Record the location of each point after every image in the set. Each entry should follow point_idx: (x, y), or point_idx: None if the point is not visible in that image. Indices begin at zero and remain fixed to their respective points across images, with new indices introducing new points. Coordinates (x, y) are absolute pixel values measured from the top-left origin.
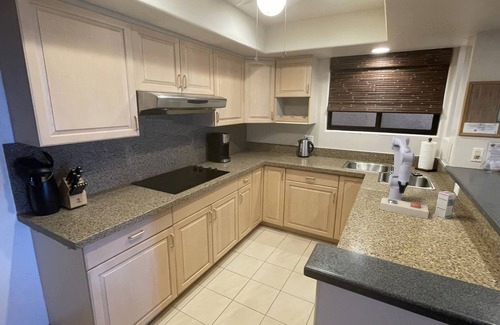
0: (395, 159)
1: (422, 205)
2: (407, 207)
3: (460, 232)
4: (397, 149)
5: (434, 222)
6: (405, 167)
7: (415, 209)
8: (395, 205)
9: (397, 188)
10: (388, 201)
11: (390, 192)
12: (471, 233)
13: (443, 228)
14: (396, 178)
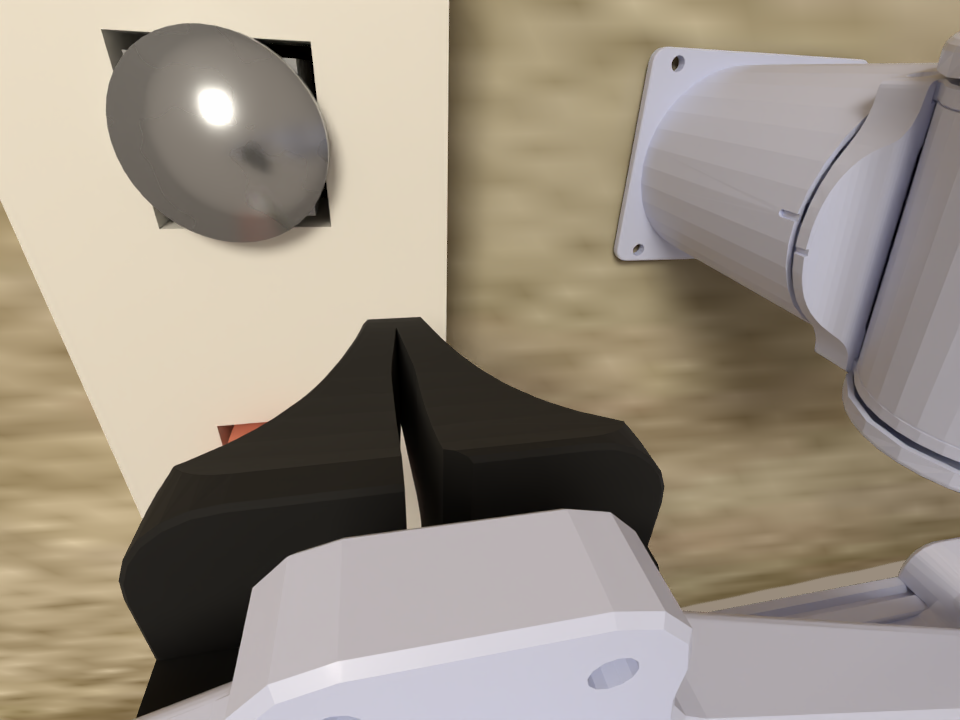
0: None
1: (408, 517)
2: (128, 393)
3: (78, 686)
4: None
5: None
6: None
7: (137, 481)
8: (29, 210)
9: (803, 247)
10: (139, 46)
11: (787, 86)
12: (136, 716)
13: (39, 619)
14: (246, 697)
